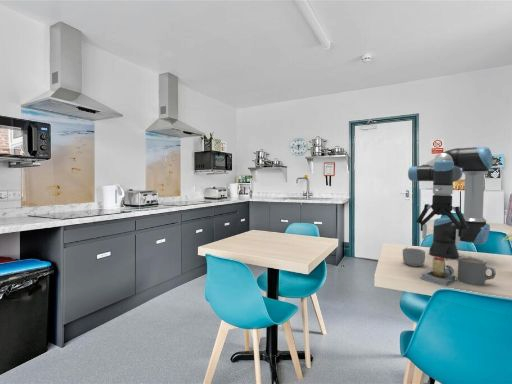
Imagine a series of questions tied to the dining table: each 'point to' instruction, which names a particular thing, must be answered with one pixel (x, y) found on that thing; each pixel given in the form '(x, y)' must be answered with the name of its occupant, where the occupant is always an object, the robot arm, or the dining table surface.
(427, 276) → the flange seat
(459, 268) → the coffee mug
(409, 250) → the teacup
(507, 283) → the dining table surface
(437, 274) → the cylinder
